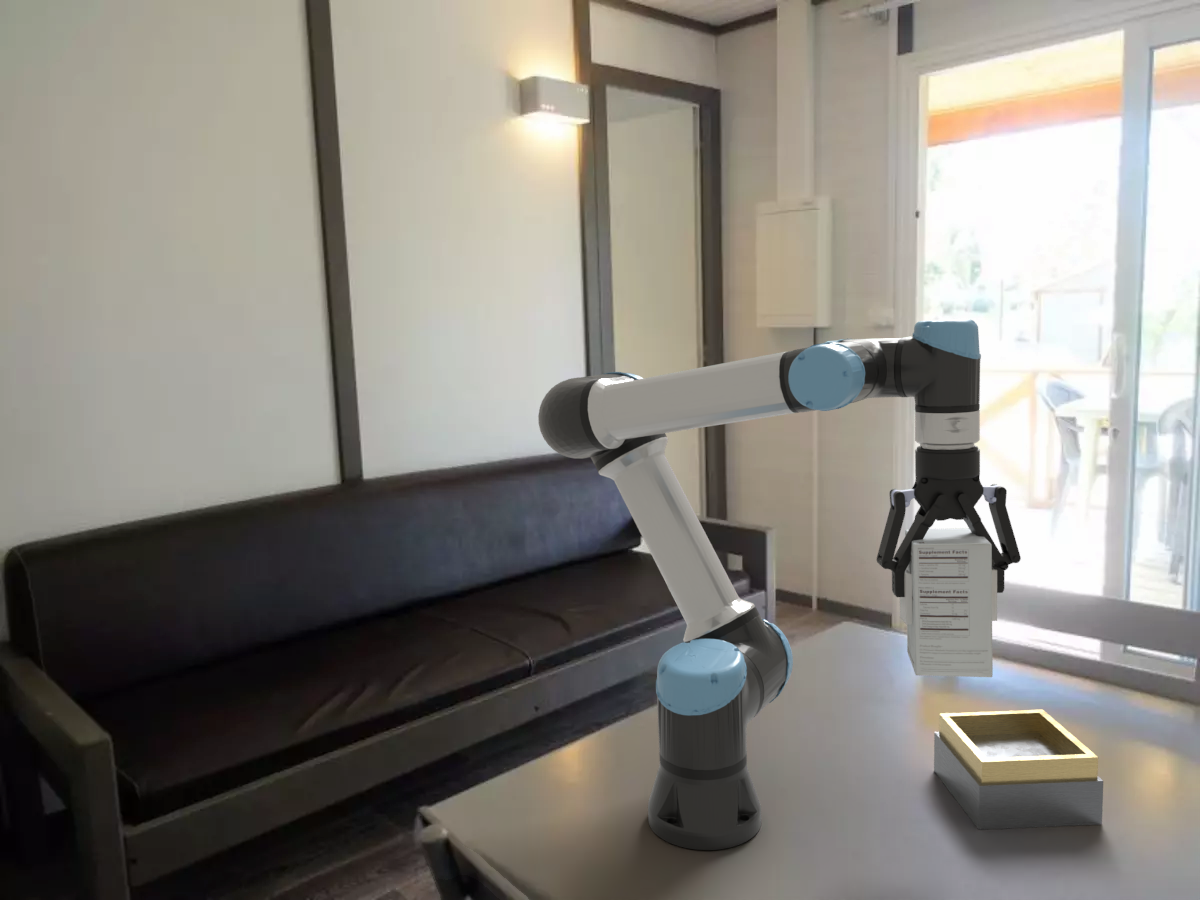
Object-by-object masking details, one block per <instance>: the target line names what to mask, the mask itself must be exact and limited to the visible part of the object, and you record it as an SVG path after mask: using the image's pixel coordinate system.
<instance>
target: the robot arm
mask: <svg viewBox="0 0 1200 900" xmlns="http://www.w3.org/2000/svg"><path fill="white" fill-rule="evenodd" d="M913 330H914V331H913V332H912V336H905V337H904V336H903V337H896V338H894V337H892V338H891V337H890V338H889V337H888V338H883V337H882V338H841V339H838V340H828V341H825V342H823V343H817V344H813V345H811V346H807V347H803V348H798V349H797V348H796V349H794V350H790V351H781V352H776V353H771V354H766V355H759V356H756V357H750V358H744V359H739V360H734V361H733V360H732V361H728V362H724V363H718V364H713V365H708V366H703V367H697V368H692V369H687V370H686V369H685V370H681V371H676V372H675V371H674V372H671V373H665V374H660V375H654V376H649V377H644V378H643V377H642V376H640V375H638V374H634V373H630V372H621V371H609V372H605V373H602V374H596V375H589V376H582V377H573V378H568V379H565V380H563V381H560V382H558V383H557V384H555V385H554V386H553V387H551V388H550V390H548V392H547V393H545V395H544V397H543V399H542V400H541V402H540V406H539V410H538V416H537V417H538V420H537V421H538V428H539V430H540V434H541V435H542V438H543V439H544V441H545V442H546V444H547V445H548V447H550V448H551V449H552V450H553V451H554V452H556V453H558V454H559V455H562V456H564V457H567V458H571V459H588V458H590V459H591V461H592V463H593V465H594V466H595V468H596V470H597V472H598V475H600V476H602V477H605V478H608V479H611V480H612V481H614V484H615V486H616V488H617V489H618V491H619V494H620V495H621V498H622V500H623V502H624V504H625V505H626V507H627V509H628V511H629V513H630V515H631V517H632V519H633V521H634V523H635V525H636V528H637V529H638V532H639V533H640V535H641V537H642V539H643V540H644V542H645V544H646V546H647V548H648V550H649V553H650V555H651V556H652V558H653V561H654V562H655V565H656V566H657V569H658V570H659V572H660V574H661V576H662V578H663V580H664V581H665V584H666V586H667V588H668V590H669V593H670V594H671V596H672V598H673V600H674V601H675V603H676V605H677V608H678V610H679V611H680V614H681V615H682V617H683V619H684V621H685V623H686V629H685V632H684V635H683V639H682V640H683V642H680V643H678V644H676V645H673V646H672V647H670V648H669V649H668V650H667V651H665V652H664V653H663V654H662V656H661V657H660V660H659V662H658V663H657V668H656V669H657V670H656V672H657V673H656V676H657V677H656V678H655V679H656V680H655V693H656V700H657V703H656V704H657V730H658V750H659V751H658V752H659V753H658V754H659V765H658V766H659V767H658V769H657V772H656V775H655V776H656V777H655V779H654V782H653V786H652V788H651V792H650V795H649V798H648V803H647V804H648V805H647V811H648V812H647V814H648V815H647V816H648V819H647V821H648V824H649V827H650V828H651V831H653V833H654V834H655V835H656V836H657V837H659V838H660V839H661V840H663V841H665V842H667V843H669V844H672V845H673V846H677V847H681V848H685V849H689V850H696V851H715V850H716V851H718V850H725V849H730V848H734V847H736V846H739V845H742V844H745V843H746V842H748V841H749V840H750V839H752V838H754V837H755V836H756V835H757V833H758V832H759V831H760V830H761V826H762V806H761V800H760V799H759V796H758V795H759V794H758V793H757V790H756V787H755V785H754V781H753V779H752V776H751V772H750V771H749V768H748V755H747V752H748V751H747V748H748V747H747V742H748V741H747V727H748V724H749V723H750V722H751V721H752V720H753V719H754V718H755V717H756V716H758V714H759V713H760V712H761V711H762V710H763V709H765V708H766V706H768V704H770V703H772V702H774V701H775V699H777V698H778V697H779V696H780V695H781V693H782V692H783V691H784V690H783V689H785V687H786V686H787V684H788V682H789V680H790V678H791V676H792V671H793V667H794V666H793V665H794V659H793V658H794V657H793V652H792V648H791V645H790V642H789V640H788V638H787V637H786V635H785V634H784V632H783V631H782V630H781V629H780V628H779V627H778V626H777V625H776V624H774V622H773V623H771V622H769V621H768V620H767V619H765V618H762V617H761V615H760V612H759V610H758V608H757V607H756V605H755V604H754V602H750V601H747V600H745V599H742V598H741V597H740V596H739V595H738V593H737V592H736V588H735V587H734V585H733V584H732V582H731V579H730V578H729V576H728V574H727V572H726V570H725V568H724V567H723V564H722V562H721V559H719V556H718V554H717V553H716V551H715V549H714V547H713V544H712V543H711V541H710V539H709V538H708V535H707V534H706V531H705V530H704V528H703V526H702V524H701V522H700V520H699V518H698V515H697V514H696V513H695V511H694V508H693V507H692V505H691V502H690V500H689V499H688V497H687V494H686V493H685V492H684V489H683V487H682V485H681V484H680V481H679V480H678V478H677V476H676V474H675V472H674V470H673V468H672V467H671V464H670V462H669V461H668V458H667V457H666V454H665V453H666V448H667V445H668V440H669V438H668V436H667V435H666V434H669V433H674V432H676V433H677V432H681V431H688V430H692V429H693V430H694V429H700V428H706V427H714V426H719V425H720V426H721V425H726V424H733V423H739V422H740V423H741V422H746V421H752V420H759V419H764V418H765V419H766V418H773V417H778V416H783V415H791V414H798V413H807V412H813V411H820V412H828V411H829V412H830V411H834V410H839V409H842V408H845V407H846V406H848V405H849V404H853V403H858V402H860V401H863V400H866V399H867V400H868V399H872V398H873V399H874V398H875V399H876V398H877V399H878V398H912V397H913V398H914V411H915V412H914V415H915V416H914V441H915V442H916V443H918V444H919V446H917V447H916V448H915V450H914V454H915V455H914V457H915V458H914V461H915V462H914V463H915V465H914V466H915V468H914V473H915V480H914V481H915V482H914V484H913V486H912V488H909V489H897V488H892V489H890V491H889V502H890V504H889V505H890V508H889V512H888V516H887V520H886V523H885V527H884V530H883V534H882V537H881V541H880V545H879V548H878V552H877V555H876V563H878V564H879V566H880V567H881V568H883V569H885V570H890V571H891V591H892V593H893V595H894V596H895V597H896V598H899V619H900V620H901V621H902V622H903V623H905V625H907V624H912V574H911V573H910V572H909V571H908V570H907V569H906V568H907V567H908V565H909V563H910V561H911V546H912V541H914V540H922V539H923V538H924V536H925V534H926V533H927V531H928V529H931V528H932V527H933V526H934V523H935V521H946V520H950V519H951V520H956V521H957V520H958V521H959V520H960V521H961V520H963V521H964V522H965V524H966V525H967V527H968V528H969V529H970V530H971V532H972V533H974V534H975V535H977V536H980V537H985V538H986V539H987V540H988V541H989V542H990V543H991V544H992V622H993V621H994V622H995V621H998V594H1001V593H1002V594H1003V593H1004V591H1005V571H1006V570H1008V568H1009V565H1011V564H1019V562H1020V561H1021V560H1022V559H1021V558H1022V557H1021V554H1020V551H1019V550H1020V549H1019V548H1018V544H1017V540H1016V536H1015V534H1014V530H1013V527H1012V524H1011V523H1012V522H1011V520H1010V516H1009V513H1008V509H1007V505H1006V502H1007V489H1006V488H1005V487H1004V486H1001V485H998V484H997V483H993V484H991V485H982V482H981V480H980V475H981V449H980V448H979V447H978V446H977V445H975V444H976V443H979V441H980V439H981V438H980V437H981V436H980V435H981V433H980V431H981V429H980V428H981V427H980V426H981V425H980V424H981V423H980V421H981V418H980V417H981V416H980V415H981V413H980V411H981V410H980V408H981V407H980V398H981V397H980V396H981V393H980V392H981V391H980V387H981V385H980V384H981V383H980V382H981V359H982V355H981V353H980V352H981V351H980V340H979V339H980V338H979V337H980V335H979V326H978V324H977V323H976V322H975V321H974V320H972V319H970V318H958V319H957V318H956V319H955V318H953V319H933V320H931V319H930V320H919V321H917V322H916V323H915V324H914V328H913ZM982 496H983V498H984V501H985V502H987V503H988V507H989V511H990V514H991V519H992V521H993V525H994V527H995V532H996V534H997V539H998V542H999V545H1000V546H999V547H1000V548H1001V551H1000V549H998V546H997V545H996V544H995V542H994V540H993V538H992V537H991V535H990V533H989V532H988V530H987V528H986V527H985V525H984V524H983V522H982V518H981V516H980V515H979V513H978V511H977V510H976V508H975V506H976V505H977V504H978V502H979V500H980V499H981V498H982ZM913 499H914V500H915V501H916V502H917V504H918V505H919V508H918V510H917V511H916V514H915V515H914V520H913V522H912V523H911V526H910V527H909V531H908V533H907V534H906V536H905V535H904V538H903V540H902V541H901V543H900V545H899V547H898V549H897V544H898V541H899V538H900V534H901V530H902V527H903V523H904V520H905V517H906V510H907V509H906V508H908V507H909V506H910V505H911V502H912V500H913ZM896 549H897V551H896Z"/></svg>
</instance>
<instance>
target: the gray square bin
mask: <svg viewBox="0 0 1200 900" xmlns="http://www.w3.org/2000/svg"><path fill="white" fill-rule="evenodd" d="M938 715H939V717H938V720H939V723H938V726H939V727H938V729H939V730H938V731H934V733H933V734H934V737H933V739H934V740H933V741H934V746H933V747H934V749H933V752H934V754H933V756H934V757H933V771H934V773H935V774H936V775H937V777H938V778H939V779H940V781H941V782H942V783H943V784H944V786H945V787H946V789H947V790H948V791H949V793H950V794H951V796H953V797H954V799H955V800H956V802H957V803H958V804H959V806H960V807H961V808H962V809H963V811H964V812H965V814H966V815H967V816H968V818H969V819H970V820H971V822H972V823H973V824H974V825H975V827H976V828H977V829H978V830H996V829H997V830H999V829H1001V830H1003V829H1021V828H1022V829H1024V828H1025V829H1026V828H1027V829H1028V828H1048V827H1052V828H1053V827H1069V826H1071V827H1072V826H1073V827H1075V826H1093V825H1095V826H1096V825H1097V826H1098V825H1103V804H1104V803H1103V801H1104V780H1103V779H1102V778H1101V777H1100V776H1098V775H1099V774H1098V773H1099V769H1098V768H1099V757H1098V755H1096V754H1095V753H1094V752H1093V751H1091V750H1090V749H1089V747H1087V746H1086V745H1085V744H1084V743H1082V742H1081V741H1080V740H1079V739H1078V738H1077V737H1075V736H1074V735H1073V734H1072V733H1071V732H1070V731H1069V730H1067V729H1066V728H1065V727H1064V726H1062V724H1061V723H1059V722H1058V721H1057V720H1055V718H1053V717H1052V715H1050V714H1048V712H1046V711H1045V710H1044V709H1023V710H1022V709H1020V710H1000V711H999V710H997V711H994V710H993V711H977V712H976V711H975V712H974V711H972V712H971V711H970V712H968V711H967V712H945V713H939V714H938Z"/></svg>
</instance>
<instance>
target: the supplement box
mask: <svg viewBox="0 0 1200 900" xmlns="http://www.w3.org/2000/svg"><path fill="white" fill-rule="evenodd" d="M909 529H910V528H909ZM909 529H905V530H904V537H905V536H906V534H907V533H908V531H909ZM906 569H907V570H908V571H909V572H910V573H911V574H912V624H906V635H907V636H906V643H907V644H906V650H907V651H906V652H907V655H908V658H909V661H910V663H911V665H912V668H913V672H914V674H915V676H924V677H925V676H927V677H930V676H931V677H960V678H961V677H966V678H967V677H969V678H970V677H971V678H992V677H993V671H994V670H993V669H994V668H993V621H992V544H991V543H990V542H989V541H988V540H987V539H986V538H985V537H980V536H977V535H975V534H974V533H972V532H971V530H970V529H969V527H968V528H966V527H965V528H964V527H962V528H961V527H960V528H956V527H955V528H929V529H928V531H927V533H926V534H925V536H924V538H923V539H922V540H914V541H912V546H911V561H910V563H909V565H908V567H907V568H906Z"/></svg>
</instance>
